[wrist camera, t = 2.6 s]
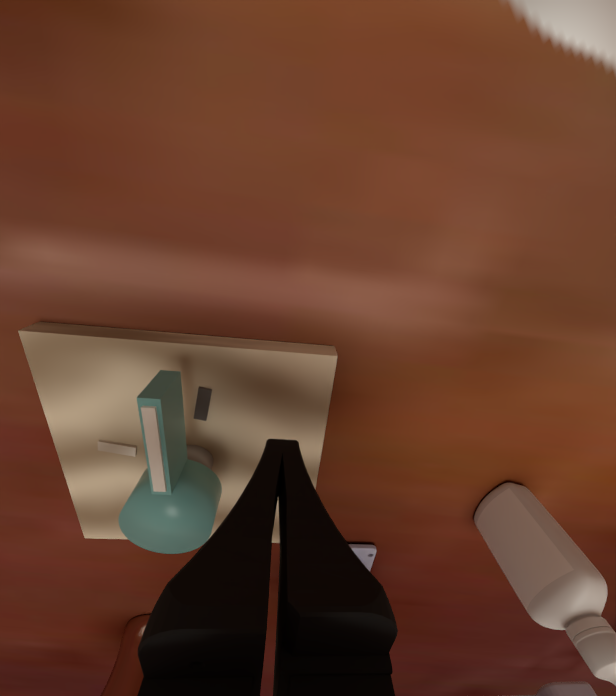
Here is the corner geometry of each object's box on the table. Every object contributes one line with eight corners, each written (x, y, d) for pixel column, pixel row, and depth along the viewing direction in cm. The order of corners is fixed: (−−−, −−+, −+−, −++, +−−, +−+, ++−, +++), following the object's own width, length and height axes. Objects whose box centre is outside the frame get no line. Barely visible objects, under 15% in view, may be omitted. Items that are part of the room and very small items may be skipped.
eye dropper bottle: (458, 505, 26) (576, 713, 15) (516, 473, 25) (692, 677, 14) (480, 528, 28) (603, 732, 17) (536, 499, 26) (709, 701, 15)
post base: (305, 526, 26) (307, 569, 23) (96, 520, 25) (67, 565, 22) (334, 346, 19) (342, 372, 16) (39, 321, 17) (-17, 345, 14)
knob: (222, 515, 20) (212, 557, 17) (145, 513, 19) (124, 555, 17) (220, 374, 15) (205, 404, 13) (119, 367, 15) (85, 396, 12)
